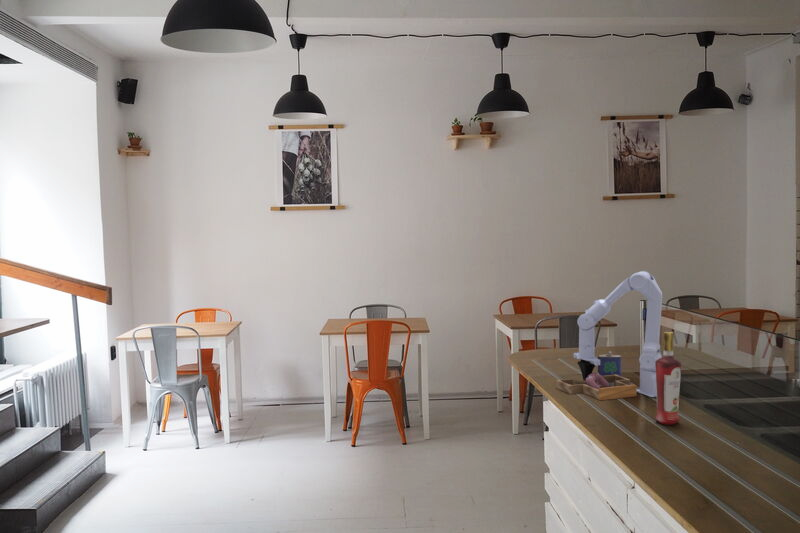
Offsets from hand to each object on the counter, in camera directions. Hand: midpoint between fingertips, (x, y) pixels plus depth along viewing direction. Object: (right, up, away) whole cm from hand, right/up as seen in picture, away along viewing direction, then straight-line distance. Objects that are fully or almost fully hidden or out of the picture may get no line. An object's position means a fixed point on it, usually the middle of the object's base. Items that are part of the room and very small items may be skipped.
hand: (586, 380), depth 240 cm
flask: (+12, -1, +11) cm, 17 cm away
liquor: (+11, -5, -46) cm, 48 cm away
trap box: (+3, -2, -9) cm, 10 cm away
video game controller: (+2, -3, -6) cm, 6 cm away
